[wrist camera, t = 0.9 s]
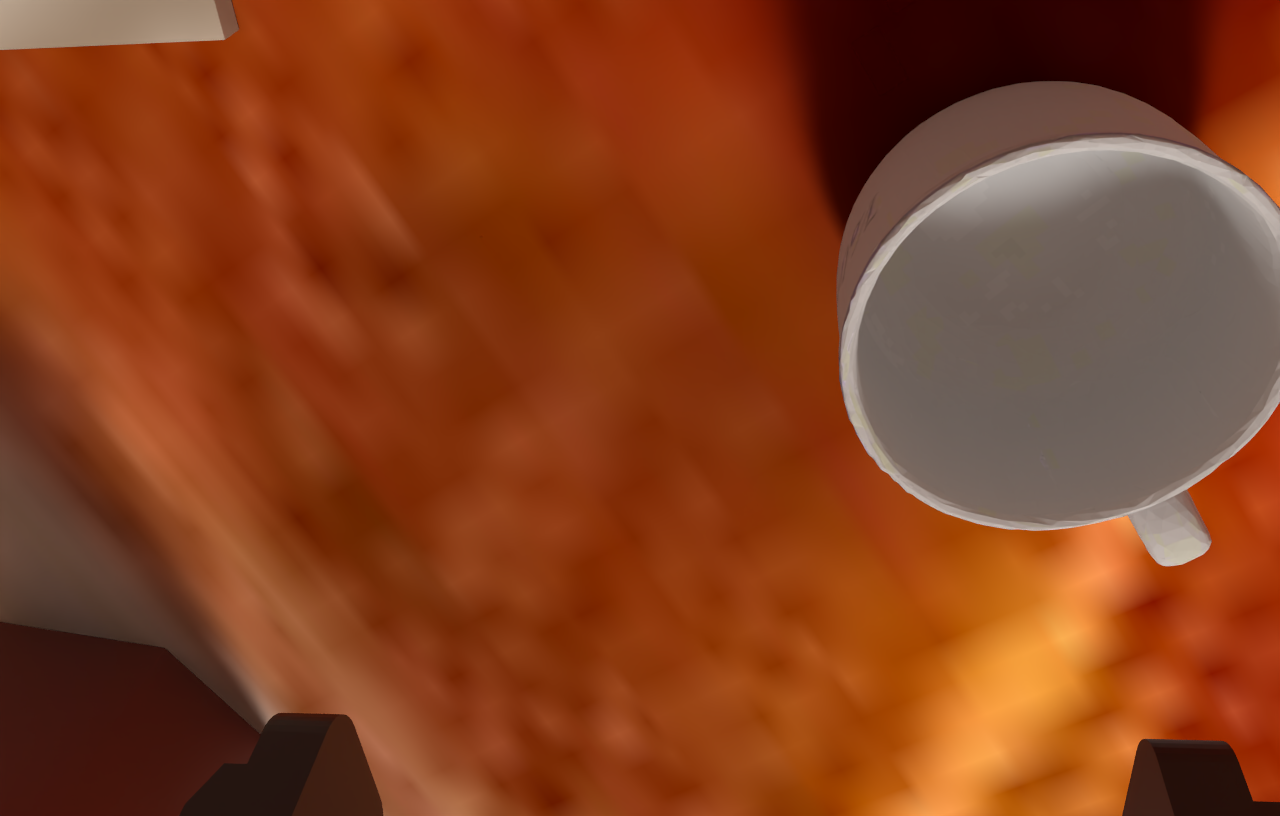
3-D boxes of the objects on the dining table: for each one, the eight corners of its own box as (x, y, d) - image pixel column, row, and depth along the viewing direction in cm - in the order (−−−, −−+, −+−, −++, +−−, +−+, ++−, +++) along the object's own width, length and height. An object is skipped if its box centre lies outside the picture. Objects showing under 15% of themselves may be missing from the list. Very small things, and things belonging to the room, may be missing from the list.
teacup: (779, 122, 33) (774, 245, 27) (1176, -31, 30) (1282, 67, 23) (923, 484, 40) (947, 655, 33) (1262, 394, 36) (1364, 564, 30)
